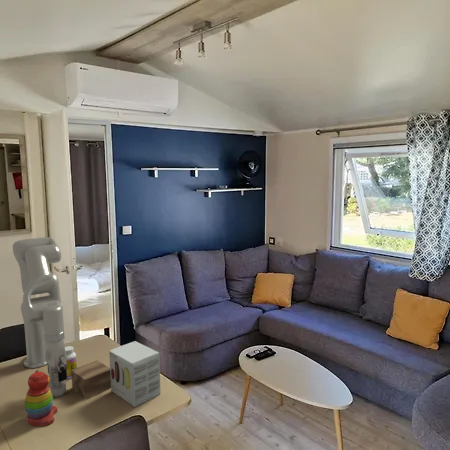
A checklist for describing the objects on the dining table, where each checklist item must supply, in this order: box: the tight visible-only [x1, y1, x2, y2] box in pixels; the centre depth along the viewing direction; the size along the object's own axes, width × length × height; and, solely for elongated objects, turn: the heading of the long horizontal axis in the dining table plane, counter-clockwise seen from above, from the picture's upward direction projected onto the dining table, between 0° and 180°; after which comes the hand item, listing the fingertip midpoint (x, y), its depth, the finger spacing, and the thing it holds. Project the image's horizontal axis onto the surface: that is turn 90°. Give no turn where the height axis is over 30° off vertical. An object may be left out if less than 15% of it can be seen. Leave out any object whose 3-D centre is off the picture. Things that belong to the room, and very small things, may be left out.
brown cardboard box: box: [71, 360, 111, 399], centre depth 172 cm, size 12×12×8 cm
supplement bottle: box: [65, 345, 78, 380], centre depth 182 cm, size 7×7×13 cm
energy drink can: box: [47, 362, 67, 398], centre depth 167 cm, size 6×6×15 cm
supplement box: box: [108, 340, 162, 408], centre depth 167 cm, size 17×13×18 cm
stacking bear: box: [24, 369, 59, 427], centre depth 151 cm, size 11×10×18 cm
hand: (57, 376), depth 167 cm, fingers open, 9 cm apart
